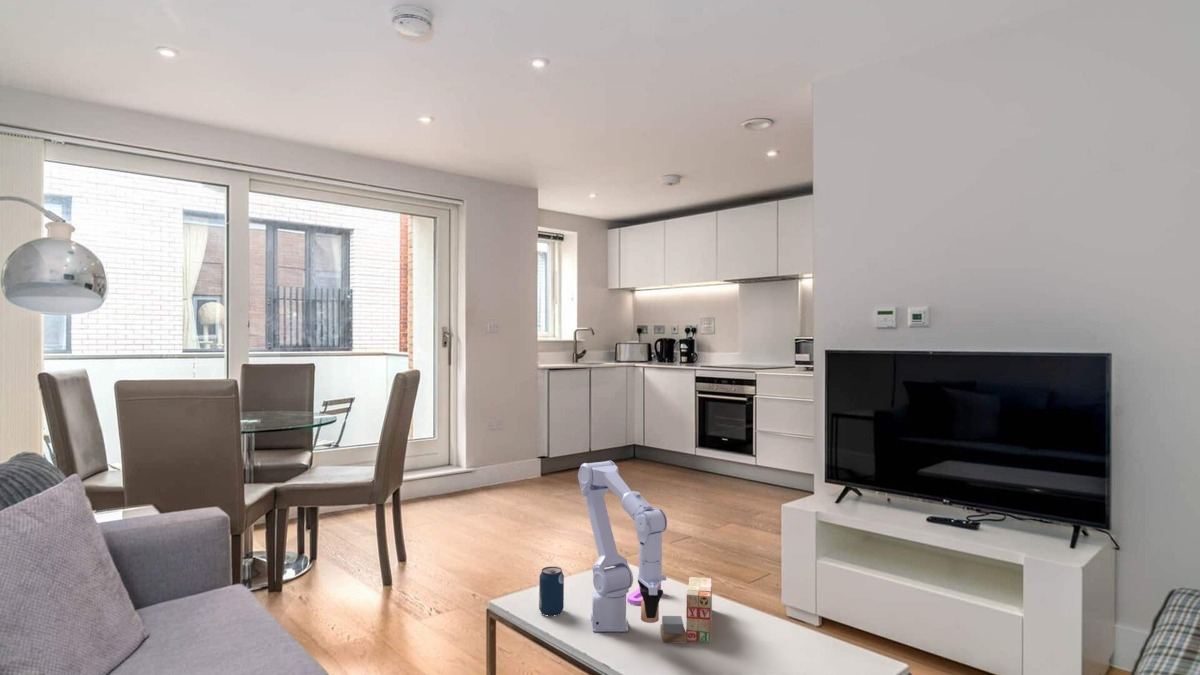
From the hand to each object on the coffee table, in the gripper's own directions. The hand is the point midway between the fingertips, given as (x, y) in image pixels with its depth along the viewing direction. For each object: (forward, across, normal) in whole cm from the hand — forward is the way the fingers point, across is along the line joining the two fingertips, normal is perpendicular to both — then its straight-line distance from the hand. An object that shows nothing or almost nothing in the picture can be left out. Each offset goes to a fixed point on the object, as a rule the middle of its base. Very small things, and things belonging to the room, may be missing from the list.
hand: (649, 613), depth 161 cm
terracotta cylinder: (+1, 0, 0) cm, 1 cm away
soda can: (+9, +22, +26) cm, 35 cm away
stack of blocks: (+9, +14, -15) cm, 23 cm away
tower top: (+7, +6, -7) cm, 11 cm away
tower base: (+9, +6, -7) cm, 13 cm away
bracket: (+9, +33, -1) cm, 35 cm away
